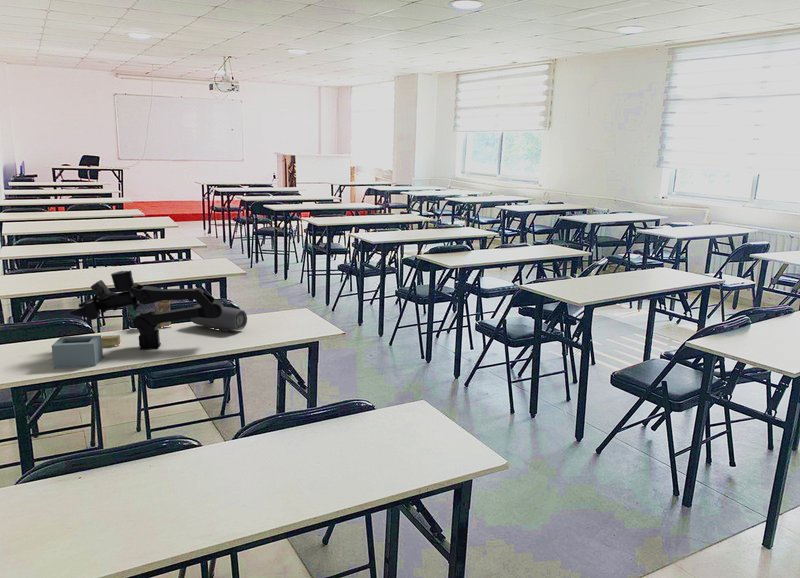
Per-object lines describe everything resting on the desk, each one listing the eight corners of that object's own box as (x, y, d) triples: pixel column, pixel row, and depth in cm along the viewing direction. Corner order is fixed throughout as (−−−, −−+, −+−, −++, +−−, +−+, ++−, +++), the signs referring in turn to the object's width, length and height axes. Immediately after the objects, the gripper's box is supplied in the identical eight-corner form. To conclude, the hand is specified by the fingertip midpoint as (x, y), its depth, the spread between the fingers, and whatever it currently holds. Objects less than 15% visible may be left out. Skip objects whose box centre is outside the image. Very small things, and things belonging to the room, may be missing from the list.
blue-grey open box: (103, 356, 216) (101, 335, 214) (95, 365, 207) (93, 343, 205) (63, 358, 213) (61, 337, 212) (54, 368, 204) (51, 345, 202)
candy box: (172, 327, 254) (169, 292, 251) (161, 328, 252) (159, 293, 248) (165, 322, 261) (162, 288, 258) (154, 324, 258) (152, 289, 255)
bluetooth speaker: (248, 329, 253) (247, 306, 250) (234, 335, 244) (233, 311, 242) (205, 323, 261) (203, 301, 259) (190, 329, 253) (188, 305, 250)
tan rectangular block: (120, 343, 232) (119, 335, 231) (118, 346, 228) (117, 337, 228) (103, 344, 230) (102, 335, 230) (101, 347, 227) (100, 338, 226)
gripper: (119, 273, 229) (76, 282, 227) (105, 286, 211) (58, 295, 209) (127, 301, 232) (85, 309, 230) (114, 315, 214) (68, 325, 212)
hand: (74, 309), depth 220 cm, fingers open, 9 cm apart
